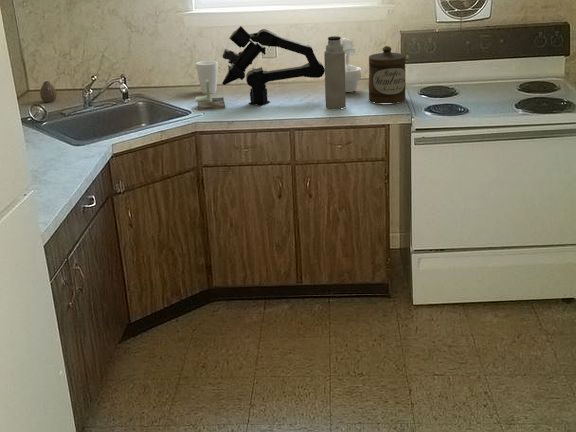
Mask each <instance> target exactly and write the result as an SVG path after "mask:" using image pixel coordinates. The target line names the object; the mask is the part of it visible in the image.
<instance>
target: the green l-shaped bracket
mask: <svg viewBox="0 0 576 432" xmlns="http://www.w3.org/2000/svg"><path fill="white" fill-rule="evenodd" d="M206 88H207V94H206V95H205V96H201V95H200V96H195V102H196V103H198V101H211V100H210V98H211V96H210V95H211V93H210V94H209V82H208V80H206Z"/></svg>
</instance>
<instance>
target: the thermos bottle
mask: <svg viewBox="0 0 576 432" xmlns="http://www.w3.org/2000/svg"><path fill="white" fill-rule="evenodd" d="M338 36H339V35H337V36H335V35H334V36H328V37H327V40H328V41H327V45H326V46H325V51H324V52H323V53H324V55H323V56H324V69H325V72H324V87H325V88H324V90H325V91H324V92H325V93H324V94H325V96H324V97H325V99H324V100H325V109H326V108H327V110H329V109H340V110H342V109H341V108H344V107H345V108H346V107H347V106H346V102H347V101H346V93H345V65H346V54H345V51H344V50H343V45H342V42H341V36H339V37H338ZM345 108H344V109H345Z"/></svg>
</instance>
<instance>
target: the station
mask: <svg viewBox="0 0 576 432" xmlns="http://www.w3.org/2000/svg"><path fill="white" fill-rule="evenodd" d="M224 98H225V97H224V96H220V97H217V96H216V97H210V99H212V102H204V103H198V102H197V109H198V111H204V110H205V111H206V110H217V109H218V110H219V109H221V110H222V109H226V105H225V104H226V103H225V99H224Z"/></svg>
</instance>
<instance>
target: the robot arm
mask: <svg viewBox="0 0 576 432" xmlns="http://www.w3.org/2000/svg"><path fill="white" fill-rule="evenodd" d="M228 40H230V41H232V42H233V43H234V44H235V46H237V47H239V48H244V49H243V50H242V51H239V52H238V53H236V52H235V51H232V50H230V49H227V48H225V49H224V51H223V53H222V59H224V60H228V61H227V62H228V65H227V69H228V71H227V72H226V75H225V76H224V79H223V81H222V85H223V86H226V85H228V84H230V83H232V82H234V81H237V80H238V79H239V80H241V81H243V80H244V79H245V80H246V84H247V85H248V86H249V87H251V88H250V92H249V97H250V98H249V99H250V102H248V104H249V105H253V106H260V107H261V106H264V105H266V104H269V103H271V100H268V88H266V87H267V85H266V83H269V82H274V81H282V80H288V79H294V78H302V77H303V78H304V77H305V78H311V79H312V78H313V79H319V78H321V77H323V76H324V75H325V66H324V65H323V63H322V62H320V61H319V60H318V59H317V56H316V54H315V53H314V49H313V48H312V46H311V45H309V44H304V43H302V42H297V41H294V40H290V39H288V38H284V37H281V36H279V35H278V34H275V32H272V31H270V30H268V29H266V28H262V29H260V30H258V31H257V32H254V33H249V32H247V30H245V29H244V27H243V26H241V25H240V26H239V27H238V28H236V30H234V31H233V32H232V33H231V35H230V36H229V38H228ZM266 47H275V48H280V49H283V50H287V51H290V52H293V53H296V54H299V55H303V56H305V58H306V60H307V63H305V64H303V65H301V66H294V67H289V68H288V67H287V68H280V69H274V70H264V69H263V67H262V66H261V67H259V68H254V67H253V68H252V69H251V70H248V71H247V73H245V72H246V69H247V68H248V67H249V66H251V65H253V62H254V60H255V59H256V58H257V57H258V56H259V55H260V53H261V54H262V55H264V56H265V55H266V49H267V48H266ZM229 64H230V65H229Z"/></svg>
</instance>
